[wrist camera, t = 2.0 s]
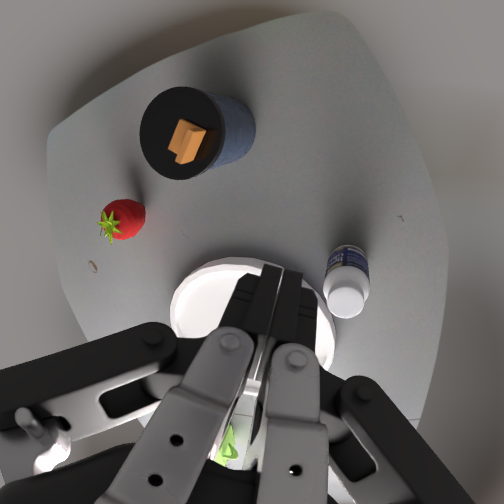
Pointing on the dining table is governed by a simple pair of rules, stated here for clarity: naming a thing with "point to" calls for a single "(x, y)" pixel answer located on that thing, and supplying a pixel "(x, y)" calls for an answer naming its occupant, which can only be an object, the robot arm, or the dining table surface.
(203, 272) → the plate
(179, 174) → the travel cup
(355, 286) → the pill bottle
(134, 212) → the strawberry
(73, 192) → the dining table surface
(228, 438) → the teapot
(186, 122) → the orange l-shaped block
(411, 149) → the dining table surface
